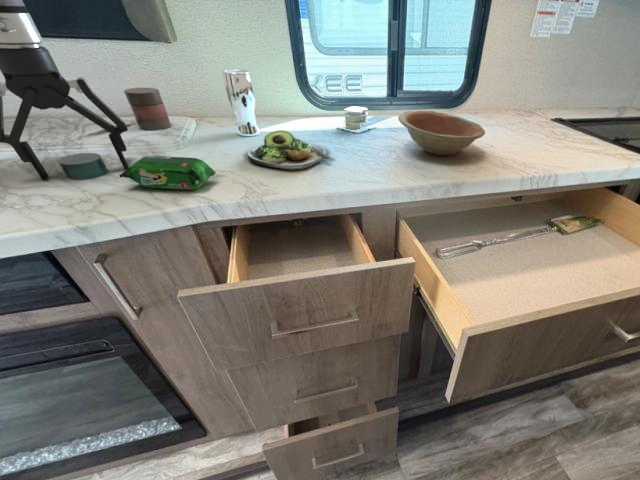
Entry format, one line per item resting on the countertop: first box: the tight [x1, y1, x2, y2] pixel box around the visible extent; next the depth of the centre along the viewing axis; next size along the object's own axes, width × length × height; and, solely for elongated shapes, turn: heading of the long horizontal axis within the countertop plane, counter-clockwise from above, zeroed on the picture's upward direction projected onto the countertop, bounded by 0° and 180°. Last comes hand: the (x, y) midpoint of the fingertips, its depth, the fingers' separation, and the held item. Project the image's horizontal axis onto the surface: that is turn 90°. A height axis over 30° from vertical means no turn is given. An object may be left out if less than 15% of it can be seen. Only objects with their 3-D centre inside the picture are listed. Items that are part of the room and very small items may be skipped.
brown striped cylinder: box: [123, 87, 172, 131], centre depth 94 cm, size 8×8×9 cm
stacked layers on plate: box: [338, 106, 369, 130], centre depth 105 cm, size 10×9×6 cm
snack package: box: [118, 155, 216, 191], centre depth 66 cm, size 7×16×5 cm, turn 92°
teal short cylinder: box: [57, 152, 109, 180], centre depth 69 cm, size 7×7×3 cm
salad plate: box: [246, 130, 331, 171], centre depth 82 cm, size 19×18×5 cm
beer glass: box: [221, 69, 261, 137], centre depth 92 cm, size 7×7×15 cm
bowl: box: [397, 110, 486, 156], centre depth 92 cm, size 24×24×8 cm
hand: (87, 172), depth 70 cm, fingers open, 13 cm apart
